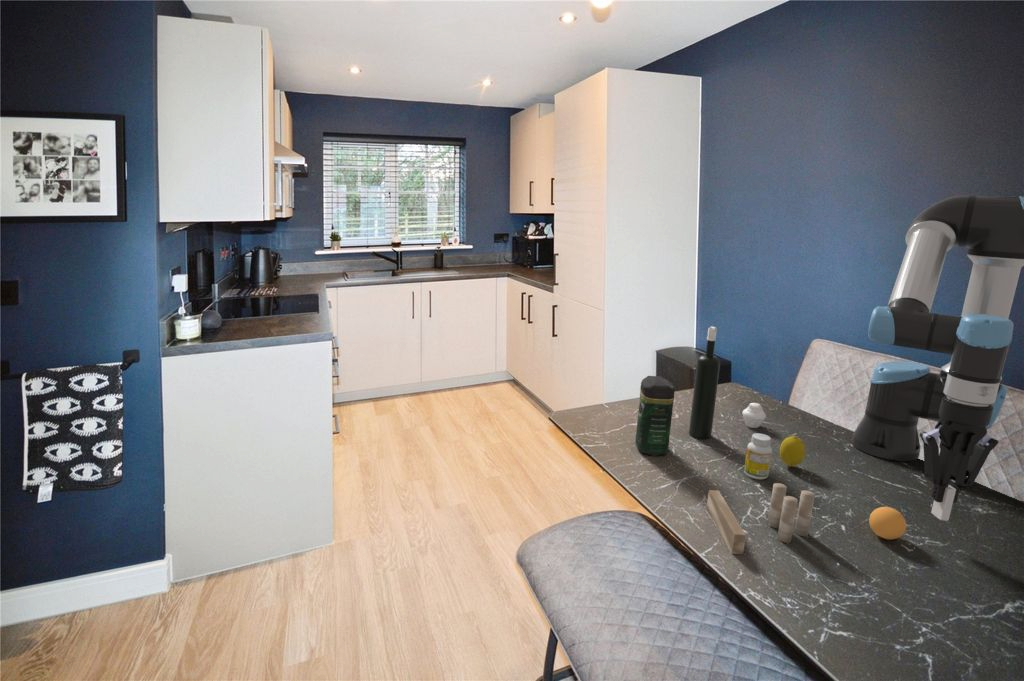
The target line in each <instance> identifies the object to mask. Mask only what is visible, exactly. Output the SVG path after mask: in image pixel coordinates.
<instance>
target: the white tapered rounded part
mask: <svg viewBox="0 0 1024 681" xmlns="http://www.w3.org/2000/svg"><path fill="white" fill-rule="evenodd" d="M741 414H742V418H743V420H744V422H745V425H746V426H747V427H748V428H750V429H758V428H759V427H761V425H762V424H763V422H764V421H765V419H766V417H767V415H766V412H765V411H764V409H763V406H762V405H761V404H760V403H758V402H751V403H749V404H748V406H747V407H746V408H744V409H743V410H742V413H741Z"/></svg>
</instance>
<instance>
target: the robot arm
mask: <svg viewBox="0 0 1024 681" xmlns="http://www.w3.org/2000/svg"><path fill="white" fill-rule="evenodd" d="M904 239H905V244H906V246H907V247H906V250H905V252H904V256H903V259H902V262H901V265H900V268H899V271H898V273H897V277H896V280H895V281H894V282H895V283H894V285H893V289H892V292H891V294H890V296H889V300H888V304H887V305H885V306H875V307H874V309H873V310H872V313H871V315H870V319H869V323H868V331H867V332H868V333H867V335H868V339H869V340H870V341H872V342H875V343H879V344H884V345H888V346H890V347H891V346H895V347H901V348H910V349H915V350H923V351H927V352H928V351H929V352H934V353H940V354H944V355H951V358H950V361H949V362H948V363H946V364H945V365H942V366H941V368H940V371H939V373H935V372H931V369H930V367H929V365H927V364H924V363H920V362H914V361H898V360H897V361H896V360H895V361H885V362H881V363H878V364H877V365H876V366H875V367H874V369H873V372H872V376H871V379H869V380H870V381H869V382H870V388H869V392H868V397H867V401H866V405H865V406H866V407H865V411H864V415H863V417H862V419H861V420H860V422H859V424H858V425H857V427H856V429H855V430H854V431H853V433H852V437H851V444H852V445H853V447H855V448H856V449H858V450H859V451H862V452H864V453H865V454H869V455H871V456H874V457H876V458H881V459H885V460H890V461H891V460H892V461H896V462H897V461H898V462H899V461H900V462H911V461H915V460H918V459H919V458H920V453H921V443H920V438H921V441H922V444H923V462H924V463H923V464H924V465H923V466H924V467H923V468H924V469H923V470H924V478H925V479H927V480H928V481H929V482H931V483H932V484H933V489H932V493H931V498H932V500H933V503H932V508H931V514H932V515H933V516H934V517H936V518H937V519H938V520H939V521H950V520H949V519H950V516H951V512H952V507H953V504H955V503H957V501H958V497H959V493H960V492H962V491H965V490H966V486H967V487H972V486H973V485H974V483H975V482H976V479H977V477H978V476H979V473H980V472H981V470H982V468H983V466H984V465H985V462H986V460H987V459H988V456H989V455H990V454H991V452H992V450H993V449H995V448H996V446H998V444H999V440H998V439H996V438H994V437H992V436H991V435H989V434H988V430H990V429H991V428H992V427H993V425H994V424H995V422H996V420H997V418H998V416H999V414H1000V411H1001V409H1002V408H1003V405H1004V404H1005V403H1004V402H1005V399H1006V397H1007V393H1008V387H1007V385H1005V384H1003V383H1002V379H1003V376H1002V375H1003V372H1004V371H1003V370H1004V367H1005V363H1006V360H1007V357H1008V354H1009V353H1008V352H1009V350H1010V349H1009V347H1010V344H1011V343H1012V341H1013V332H1014V326H1015V325H1014V323H1013V322H1014V321H1012V320H1011V319H1009V318H1010V314H1011V311H1012V310H1011V309H1012V306H1013V301H1014V299H1015V298H1014V297H1015V294H1016V289H1017V285H1018V281H1019V277H1020V273H1021V270H1022V268H1023V267H1024V196H1022V195H1020V196H1000V195H999V196H998V195H997V196H995V195H994V196H993V195H992V196H991V195H968V194H967V195H966V194H965V195H956V196H951V197H947V198H944V199H941V200H940V201H938V202H936V203H933V204H931V205H930V206H928V207H926V208H925V209H924V210H923V211H922V212H920V213H919V214H918V215H917V216H916V217H915V218H914V219H913V220H912V222H911V223H910V225H909V227H908V228H907V231H906V234H905V238H904ZM954 247H958V248H960V247H961V248H967V249H968V250H967V254H966V256H967V257H968V259H969V260H970V261H971V262H972V268H971V273H970V277H969V281H968V286H967V289H966V293H965V298H964V301H963V307H962V312H961V315H960V316H959V315H951V314H950V315H949V314H943V313H942V314H941V313H935V312H931V310H932V306H933V303H934V301H935V300H934V299H935V296H936V294H937V293H936V292H937V289H938V285H939V281H940V278H941V274H942V271H943V268H944V264H945V260H946V258H947V257H946V256H947V252H949V251H950V250H952V248H954ZM919 419H924V420H927V421H933V422H937V423H936V424H935V425H934V429H932V430H930V431H929V432H926V431H921V432H920V433H919V432H918V431H919V430H918V424H919ZM919 437H920V438H919ZM964 486H965V487H964Z"/></svg>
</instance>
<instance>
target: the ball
mask: <svg viewBox="0 0 1024 681" xmlns="http://www.w3.org/2000/svg"><path fill="white" fill-rule="evenodd" d="M868 521H869V526H870V529H871V530H872V531H873V533H874V534H876V535H877V536H878V537H879V538H882V539H886V540H895V539H898V538H901V537H902V536H903V535H904V534H905V532H906V529H907V522H906V520H905V517H904V516H903V515H902V513H901V512H899V511H898V510H897V509H895V508H892V507H891V506H881V507H878V508H875V509H874V510H873V511H872V512H871V513H870V515H869V520H868Z"/></svg>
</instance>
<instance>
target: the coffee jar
mask: <svg viewBox="0 0 1024 681" xmlns="http://www.w3.org/2000/svg"><path fill="white" fill-rule="evenodd" d="M675 390H676V389H675V387H674V385H673V384H672V382H671V381H669V380H668V379H666V378H664V376H661V375H660V376H657V375H647V376H645V378H643V379H642V380H641V382H640V388H639V391H640V392H639V402H638V414H637V422H636V423H637V424H636V431H635V433H636V434H635V439H634V440H635V445H636V448H637V449H638V451H639V452H641V453H642V454H646V455H650V456H660V455H666V454H668V452H669V447H670V446H669V445H670V436H671V425H672V416H673V408H674V403H675V402H674V401H675Z"/></svg>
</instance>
